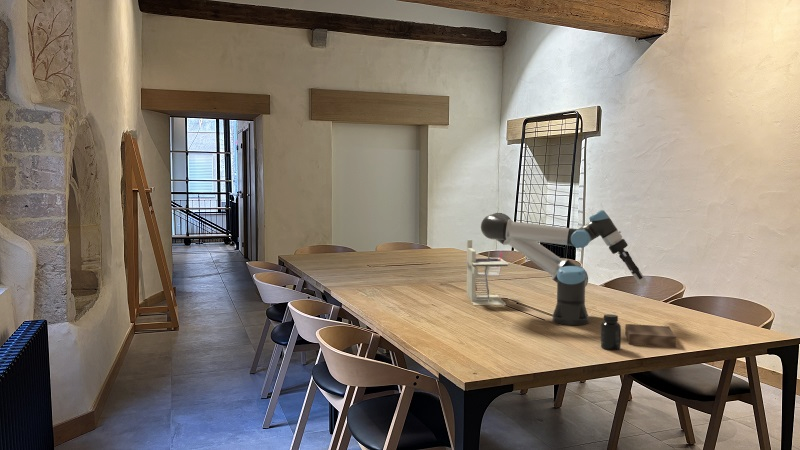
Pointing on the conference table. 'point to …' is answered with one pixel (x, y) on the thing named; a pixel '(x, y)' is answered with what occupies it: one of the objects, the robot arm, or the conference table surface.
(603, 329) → the supplement bottle
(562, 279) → the robot arm
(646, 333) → the walnut base
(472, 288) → the white ladder tower
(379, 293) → the conference table surface
